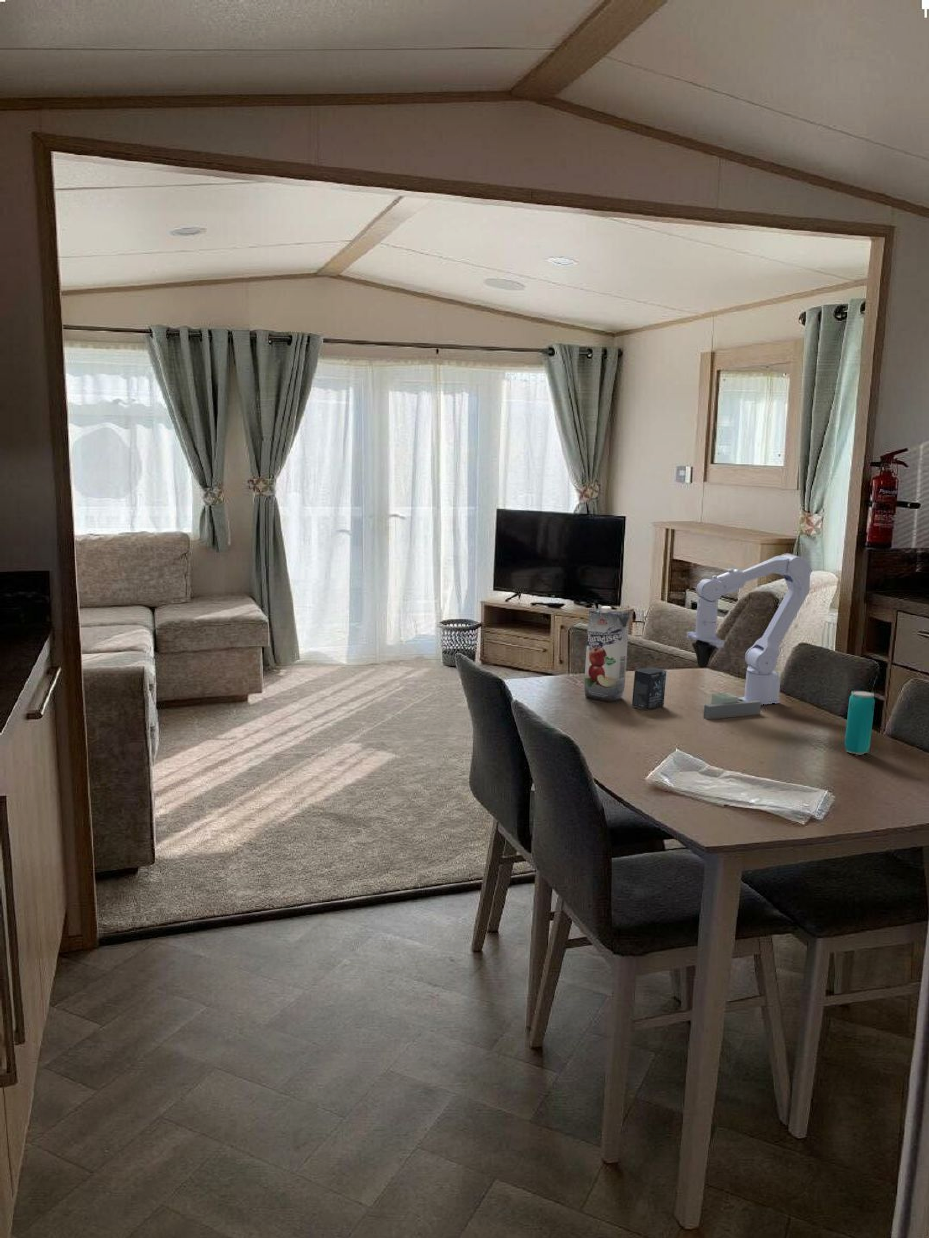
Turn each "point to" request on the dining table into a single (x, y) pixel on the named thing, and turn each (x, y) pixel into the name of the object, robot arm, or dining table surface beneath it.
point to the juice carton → (606, 653)
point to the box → (649, 688)
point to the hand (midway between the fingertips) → (702, 667)
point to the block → (723, 698)
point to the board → (732, 709)
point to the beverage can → (859, 722)
